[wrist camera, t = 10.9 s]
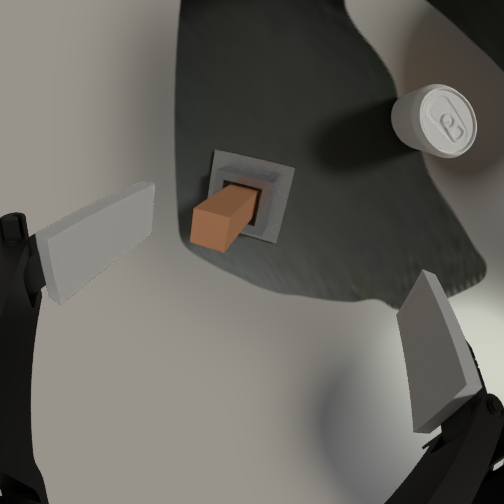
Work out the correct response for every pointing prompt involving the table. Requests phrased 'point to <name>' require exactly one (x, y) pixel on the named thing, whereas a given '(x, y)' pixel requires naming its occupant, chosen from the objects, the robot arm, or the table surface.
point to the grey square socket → (260, 176)
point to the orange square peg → (224, 216)
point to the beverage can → (435, 121)
